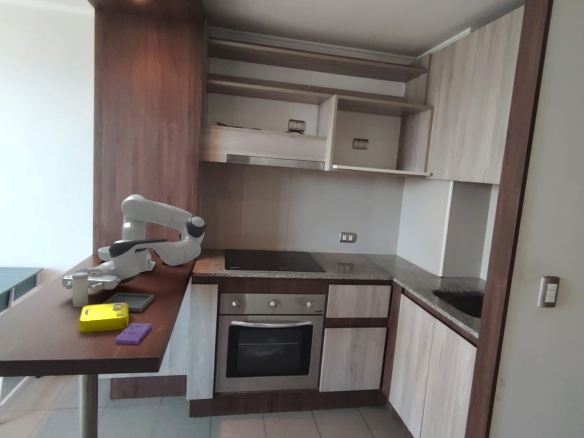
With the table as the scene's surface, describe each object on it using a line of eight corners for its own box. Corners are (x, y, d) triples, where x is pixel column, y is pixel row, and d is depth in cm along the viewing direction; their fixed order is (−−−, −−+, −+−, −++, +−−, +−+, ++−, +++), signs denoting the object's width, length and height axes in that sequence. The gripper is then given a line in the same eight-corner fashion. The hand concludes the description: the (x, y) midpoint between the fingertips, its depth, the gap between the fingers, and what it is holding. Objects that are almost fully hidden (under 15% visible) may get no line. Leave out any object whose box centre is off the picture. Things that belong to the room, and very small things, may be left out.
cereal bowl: (97, 258, 211) (98, 246, 210) (129, 257, 219) (129, 245, 218) (97, 266, 196) (97, 252, 195) (131, 264, 204) (132, 251, 203)
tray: (117, 296, 154) (117, 292, 154) (153, 298, 155) (153, 294, 155) (99, 310, 140) (99, 305, 139) (139, 312, 140) (140, 308, 140)
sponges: (151, 328, 128) (151, 323, 128) (137, 345, 116) (137, 340, 116) (130, 327, 128) (131, 322, 128) (114, 344, 116) (114, 338, 115)
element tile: (82, 316, 134) (82, 303, 133) (128, 312, 140) (128, 300, 140) (78, 334, 120) (78, 320, 120) (128, 329, 127) (128, 315, 126)
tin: (77, 301, 146) (76, 272, 145) (91, 302, 146) (91, 272, 145) (69, 306, 141) (69, 276, 139) (84, 307, 141) (83, 276, 140)
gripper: (123, 286, 157) (107, 297, 143) (73, 283, 156) (53, 294, 142) (123, 271, 156) (107, 281, 142) (73, 268, 155) (53, 278, 141)
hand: (80, 287), depth 142 cm, fingers open, 8 cm apart
